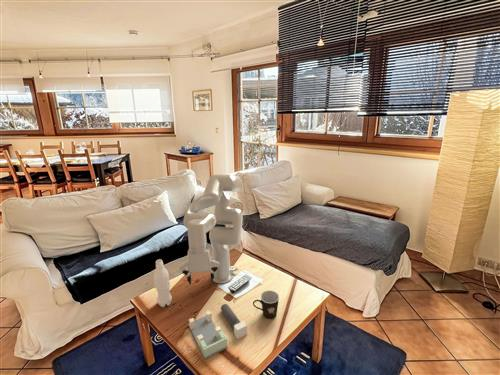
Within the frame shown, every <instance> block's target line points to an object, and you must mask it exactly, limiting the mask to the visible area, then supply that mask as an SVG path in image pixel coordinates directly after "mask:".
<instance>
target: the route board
mask: <svg viewBox="0 0 500 375" xmlns="http://www.w3.org/2000/svg"><path fill="white" fill-rule="evenodd" d="M212 317H213V316H212V312H211V311H210V310H208V311H205V316H202V317H201V318H198V319H195V318H194V317H192V318H189V319H188V325H187V326H188V328H189V329H191V330H190V332H191V333H192V336H193V338H194V340H195V342H196V344H197V346H198V348H199V350H200V352H201V355H202V357H203V358H204V360H207V359H208V358H210V357H212V356H215V355H216V354H217V353H221V352H222V351H224V350H226V349H228V337H227V336H226V334H225V333H224V331H223V330H222V328H221V327H220V325H218V326H216V325H215V323H214V321H213V318H212Z"/></svg>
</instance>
